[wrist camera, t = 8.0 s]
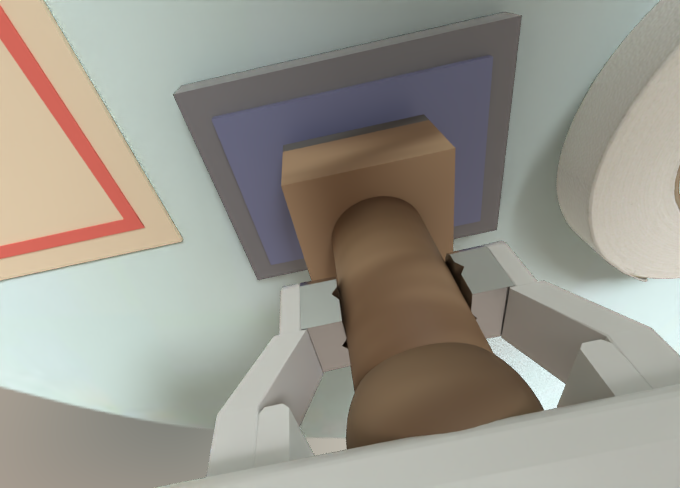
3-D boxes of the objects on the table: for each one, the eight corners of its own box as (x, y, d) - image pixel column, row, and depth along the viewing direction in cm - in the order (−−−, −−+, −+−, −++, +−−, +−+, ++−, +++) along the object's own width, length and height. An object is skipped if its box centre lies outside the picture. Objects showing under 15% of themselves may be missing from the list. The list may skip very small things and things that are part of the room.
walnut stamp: (423, 114, 12) (754, 466, 4) (427, 229, 15) (609, 570, 7) (283, 145, 12) (263, 561, 4) (314, 252, 15) (345, 619, 7)
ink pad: (504, 11, 13) (526, 16, 12) (486, 216, 18) (499, 233, 17) (181, 85, 13) (170, 96, 12) (259, 264, 19) (257, 284, 17)
